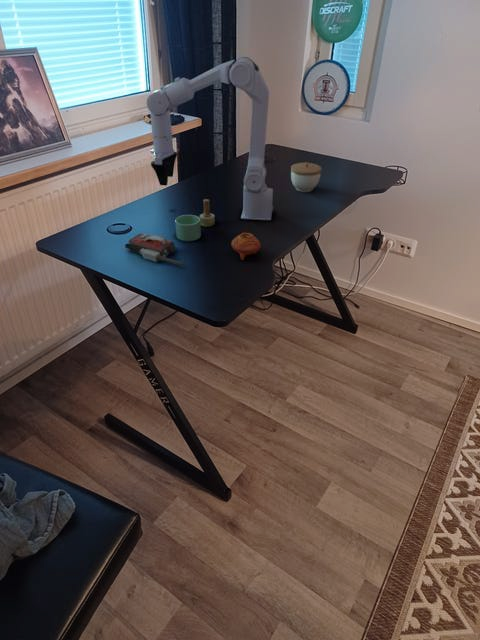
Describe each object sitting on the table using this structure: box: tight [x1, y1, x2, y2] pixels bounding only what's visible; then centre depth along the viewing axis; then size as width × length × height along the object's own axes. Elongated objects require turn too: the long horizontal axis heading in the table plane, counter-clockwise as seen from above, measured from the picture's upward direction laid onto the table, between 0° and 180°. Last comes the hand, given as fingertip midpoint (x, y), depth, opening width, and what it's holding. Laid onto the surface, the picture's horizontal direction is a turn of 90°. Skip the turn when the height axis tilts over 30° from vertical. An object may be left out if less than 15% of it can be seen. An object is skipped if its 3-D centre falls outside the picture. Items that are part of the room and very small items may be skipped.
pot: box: [230, 232, 262, 261], centre depth 123 cm, size 8×8×7 cm
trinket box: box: [290, 161, 323, 193], centre depth 162 cm, size 11×11×9 cm
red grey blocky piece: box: [124, 233, 184, 266], centre depth 124 cm, size 9×4×20 cm
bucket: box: [174, 214, 202, 242], centre depth 133 cm, size 7×7×5 cm
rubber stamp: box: [199, 198, 216, 227], centre depth 139 cm, size 5×5×8 cm
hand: (166, 180), depth 143 cm, fingers open, 7 cm apart
